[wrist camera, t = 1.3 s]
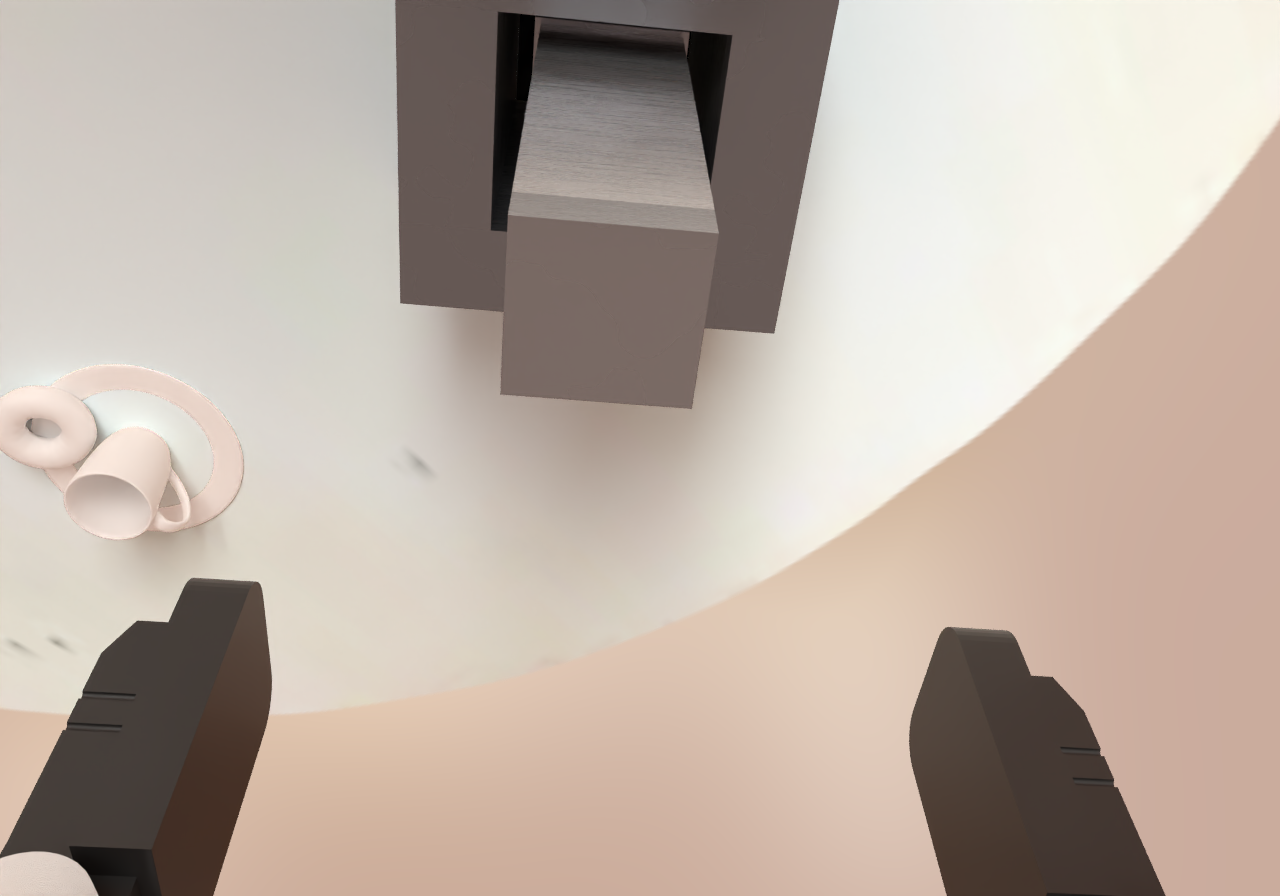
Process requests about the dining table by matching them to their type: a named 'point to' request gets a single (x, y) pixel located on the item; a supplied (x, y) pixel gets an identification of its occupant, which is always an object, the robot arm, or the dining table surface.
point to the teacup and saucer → (118, 452)
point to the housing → (493, 122)
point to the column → (608, 221)
